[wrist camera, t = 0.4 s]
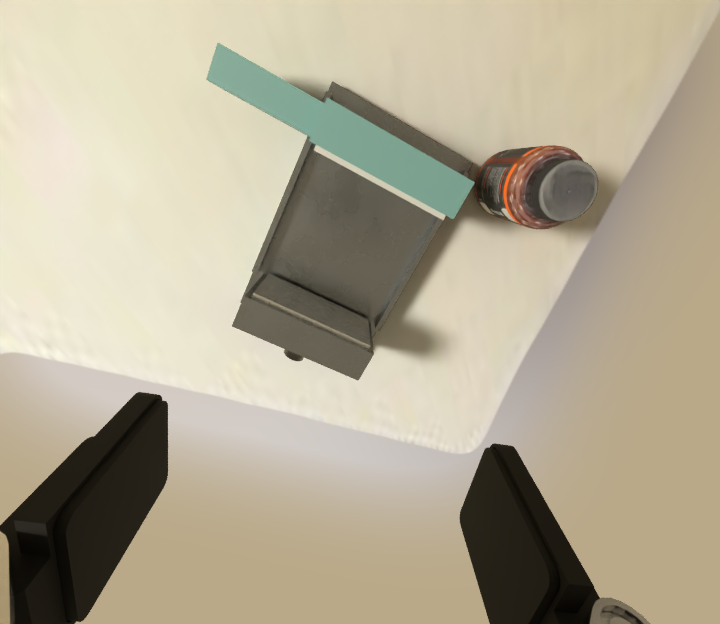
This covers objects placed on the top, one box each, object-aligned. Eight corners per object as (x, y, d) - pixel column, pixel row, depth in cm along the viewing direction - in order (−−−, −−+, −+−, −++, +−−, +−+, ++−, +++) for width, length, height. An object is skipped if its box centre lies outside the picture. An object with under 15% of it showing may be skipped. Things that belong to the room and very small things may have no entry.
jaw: (244, 61, 30) (213, 32, 24) (451, 178, 34) (475, 182, 27) (229, 103, 31) (196, 86, 25) (432, 213, 35) (450, 224, 28)
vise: (333, 84, 32) (326, 58, 24) (469, 163, 34) (501, 162, 27) (240, 307, 39) (212, 341, 32) (357, 358, 42) (357, 402, 34)
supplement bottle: (481, 225, 36) (532, 249, 26) (465, 164, 34) (514, 164, 24) (541, 202, 36) (619, 217, 25) (528, 139, 34) (607, 127, 23)
